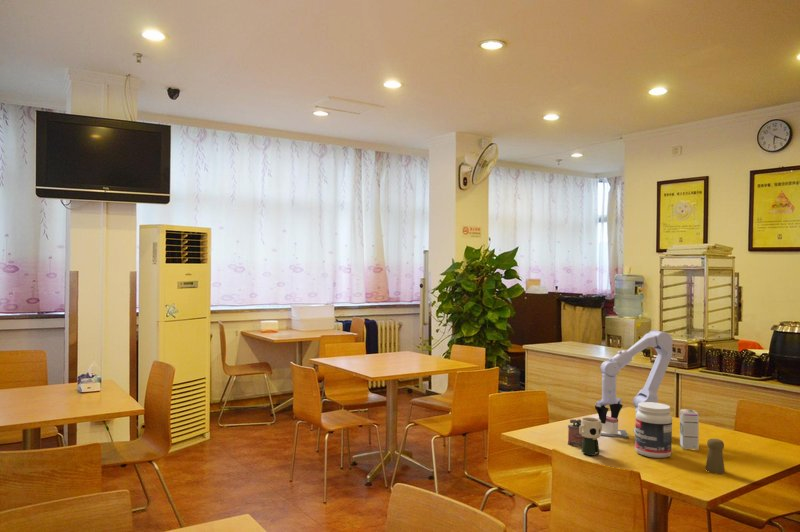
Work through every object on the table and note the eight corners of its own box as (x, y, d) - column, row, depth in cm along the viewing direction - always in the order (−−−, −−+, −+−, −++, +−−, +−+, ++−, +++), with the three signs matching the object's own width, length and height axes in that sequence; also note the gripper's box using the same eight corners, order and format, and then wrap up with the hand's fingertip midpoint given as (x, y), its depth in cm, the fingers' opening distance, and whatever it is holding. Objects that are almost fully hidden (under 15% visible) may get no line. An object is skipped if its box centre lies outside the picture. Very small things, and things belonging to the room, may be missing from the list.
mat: (625, 431, 256) (625, 430, 256) (628, 438, 246) (628, 437, 246) (588, 428, 260) (588, 427, 260) (590, 434, 249) (590, 433, 249)
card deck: (603, 429, 257) (604, 415, 257) (617, 433, 251) (618, 419, 251) (598, 430, 255) (599, 416, 255) (612, 434, 249) (613, 420, 249)
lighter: (587, 444, 236) (588, 418, 236) (589, 446, 233) (590, 421, 233) (566, 443, 237) (567, 417, 237) (568, 445, 234) (568, 420, 234)
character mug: (586, 458, 218) (586, 423, 218) (572, 453, 224) (573, 418, 224) (608, 455, 222) (609, 420, 222) (594, 449, 229) (594, 415, 229)
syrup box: (699, 450, 231) (699, 413, 231) (682, 449, 232) (683, 412, 232) (694, 446, 236) (695, 409, 236) (678, 445, 237) (679, 408, 237)
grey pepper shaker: (701, 468, 210) (702, 436, 210) (717, 468, 210) (718, 436, 210) (712, 474, 204) (712, 441, 204) (728, 473, 204) (729, 441, 204)
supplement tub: (628, 452, 226) (629, 404, 226) (645, 446, 234) (646, 399, 234) (661, 461, 216) (662, 411, 216) (677, 455, 224) (678, 406, 224)
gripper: (606, 393, 246) (605, 426, 245) (627, 389, 254) (627, 421, 254) (591, 390, 251) (591, 422, 251) (613, 386, 259) (613, 418, 259)
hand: (608, 421), depth 253 cm, fingers open, 7 cm apart
